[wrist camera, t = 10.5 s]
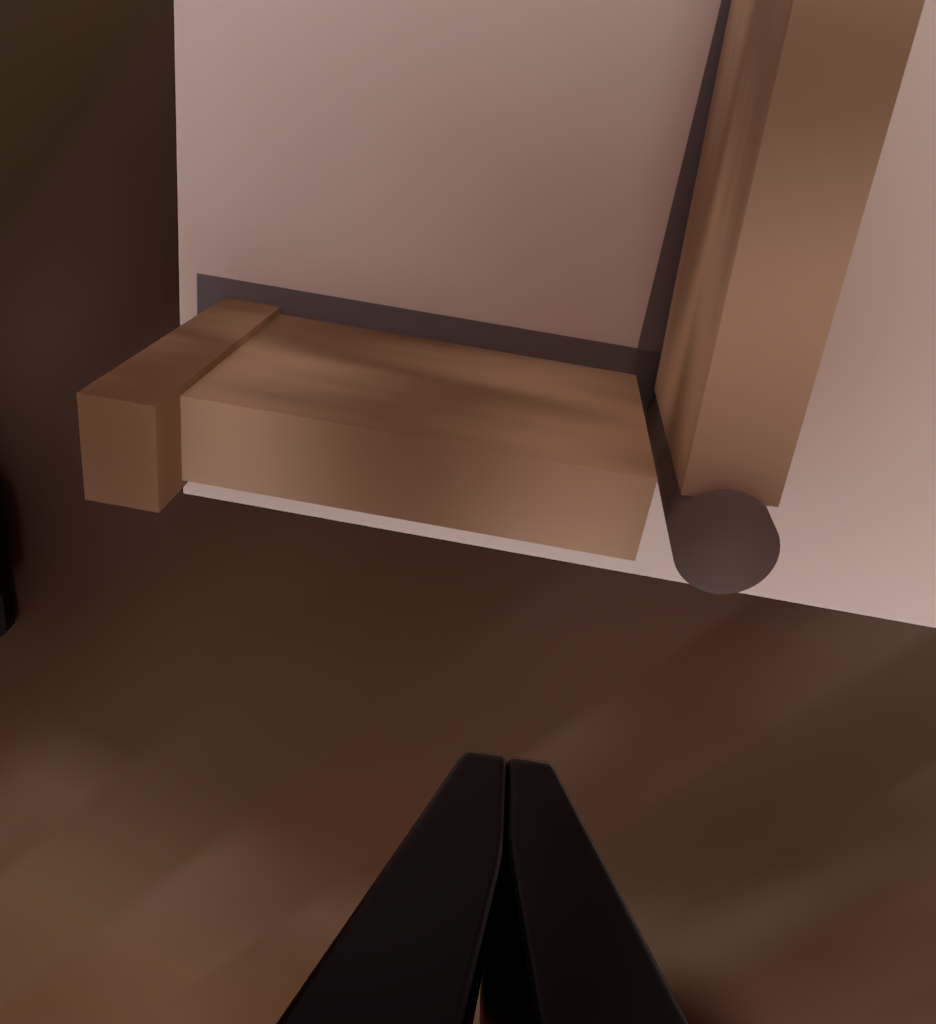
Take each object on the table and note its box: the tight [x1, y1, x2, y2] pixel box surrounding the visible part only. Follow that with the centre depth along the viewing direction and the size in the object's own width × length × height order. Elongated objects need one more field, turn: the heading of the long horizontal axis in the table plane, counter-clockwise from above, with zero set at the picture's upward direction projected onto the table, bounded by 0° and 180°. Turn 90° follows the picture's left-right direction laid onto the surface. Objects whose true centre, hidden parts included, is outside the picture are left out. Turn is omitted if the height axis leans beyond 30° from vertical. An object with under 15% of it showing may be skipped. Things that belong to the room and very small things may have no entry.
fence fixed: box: [76, 297, 657, 561], centre depth 16 cm, size 9×2×6 cm, turn 82°
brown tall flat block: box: [646, 0, 925, 594], centre depth 13 cm, size 13×2×6 cm, turn 175°
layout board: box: [174, 0, 936, 628], centre depth 16 cm, size 22×17×1 cm
